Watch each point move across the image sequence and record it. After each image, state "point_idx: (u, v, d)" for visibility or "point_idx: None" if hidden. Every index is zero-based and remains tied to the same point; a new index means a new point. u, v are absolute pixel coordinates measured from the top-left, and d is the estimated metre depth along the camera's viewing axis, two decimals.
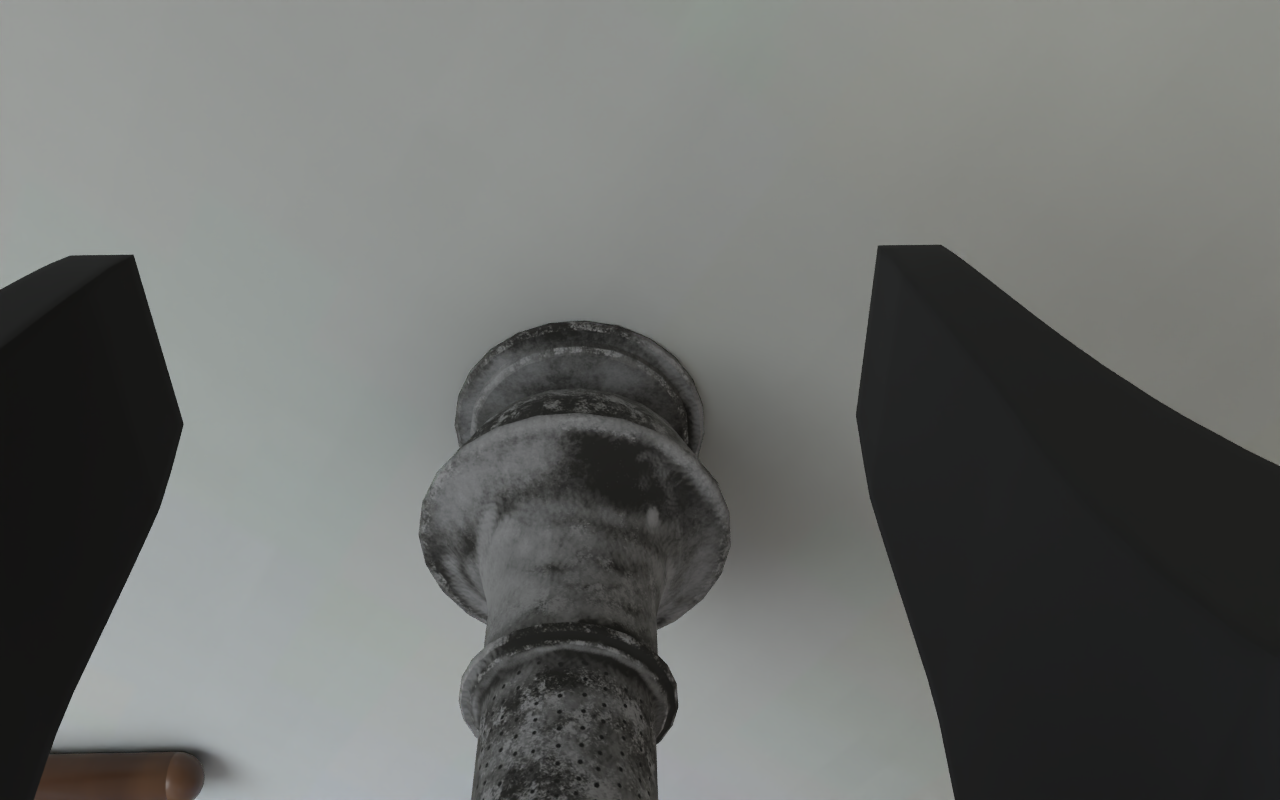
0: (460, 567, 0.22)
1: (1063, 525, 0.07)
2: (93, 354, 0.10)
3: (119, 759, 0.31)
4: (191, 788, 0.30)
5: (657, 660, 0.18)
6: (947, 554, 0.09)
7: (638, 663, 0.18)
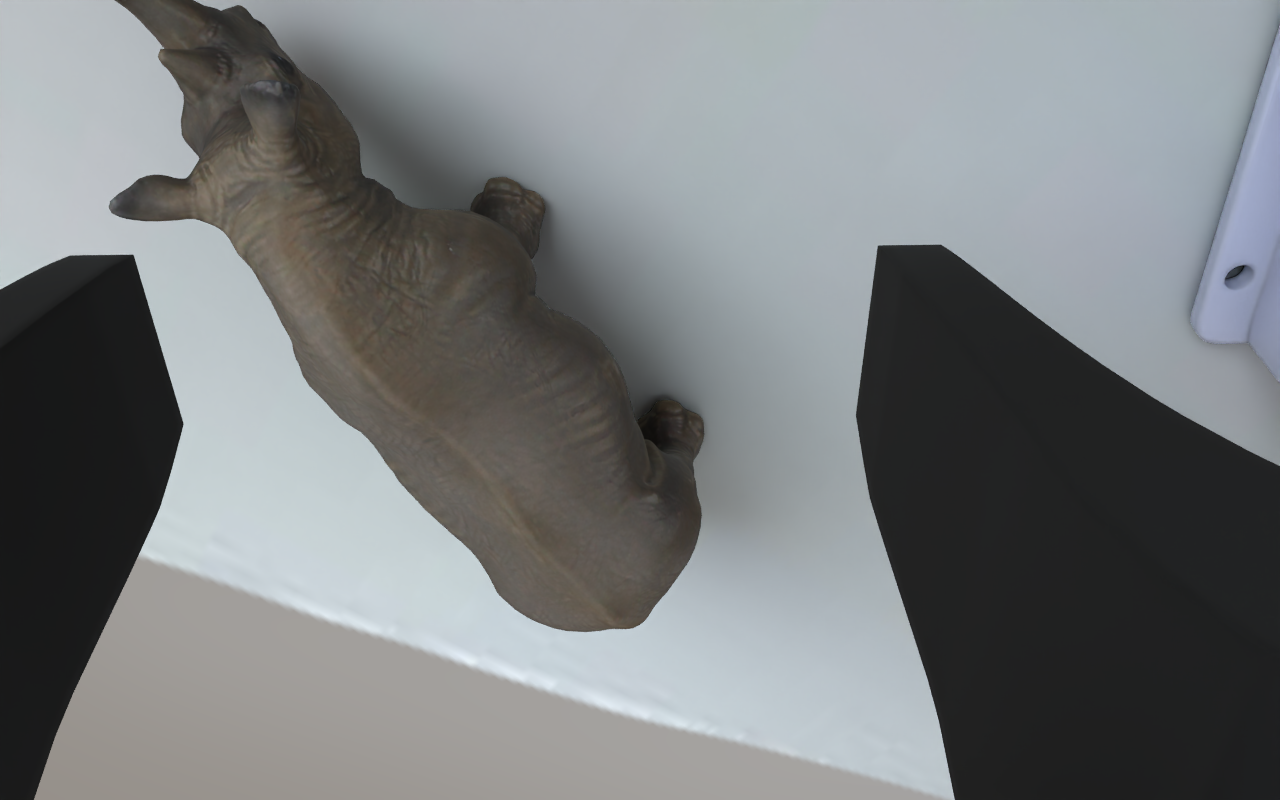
0: None
1: (1063, 525, 0.07)
2: (94, 355, 0.10)
3: None
4: None
5: None
6: (947, 554, 0.09)
7: None
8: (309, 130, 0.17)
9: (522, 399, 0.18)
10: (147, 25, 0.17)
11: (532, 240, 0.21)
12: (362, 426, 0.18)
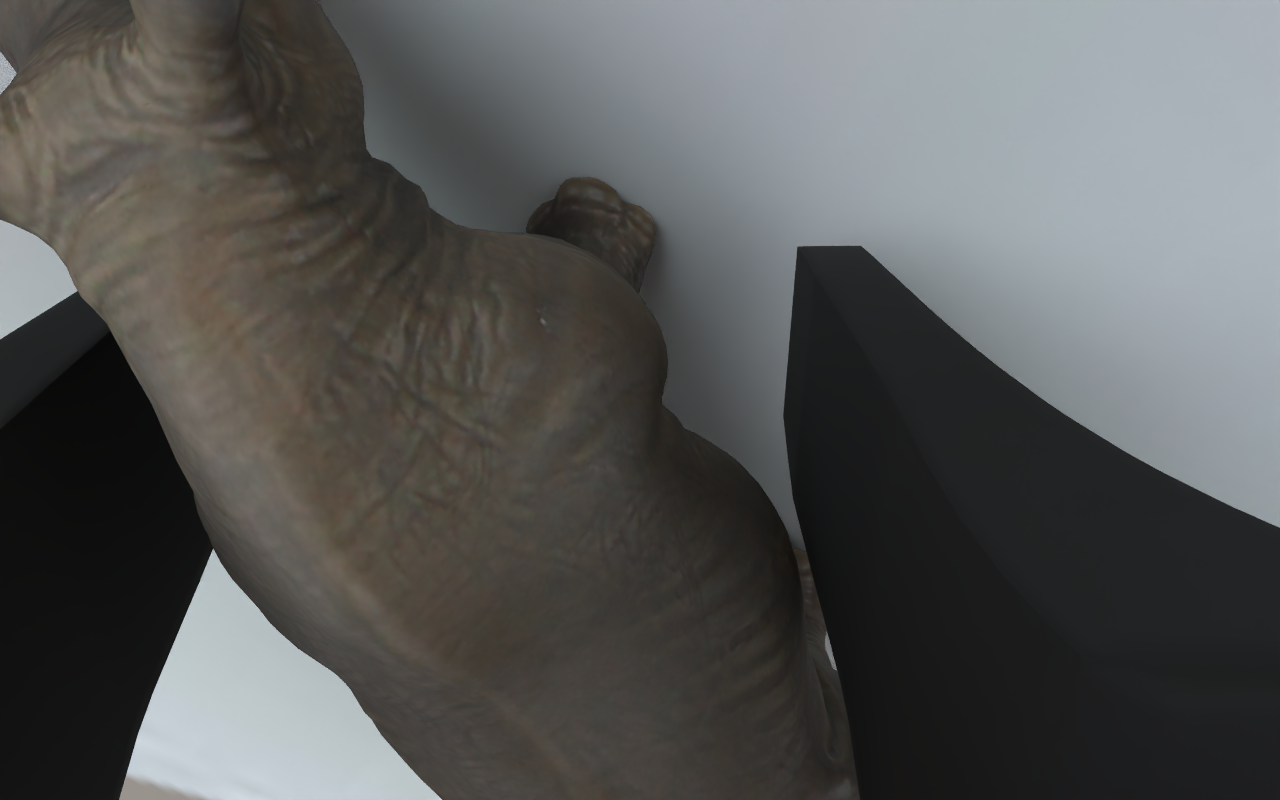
0: None
1: (935, 529, 0.07)
2: None
3: None
4: None
5: None
6: (852, 556, 0.09)
7: None
8: (267, 46, 0.08)
9: (653, 623, 0.09)
10: None
11: None
12: (325, 663, 0.09)
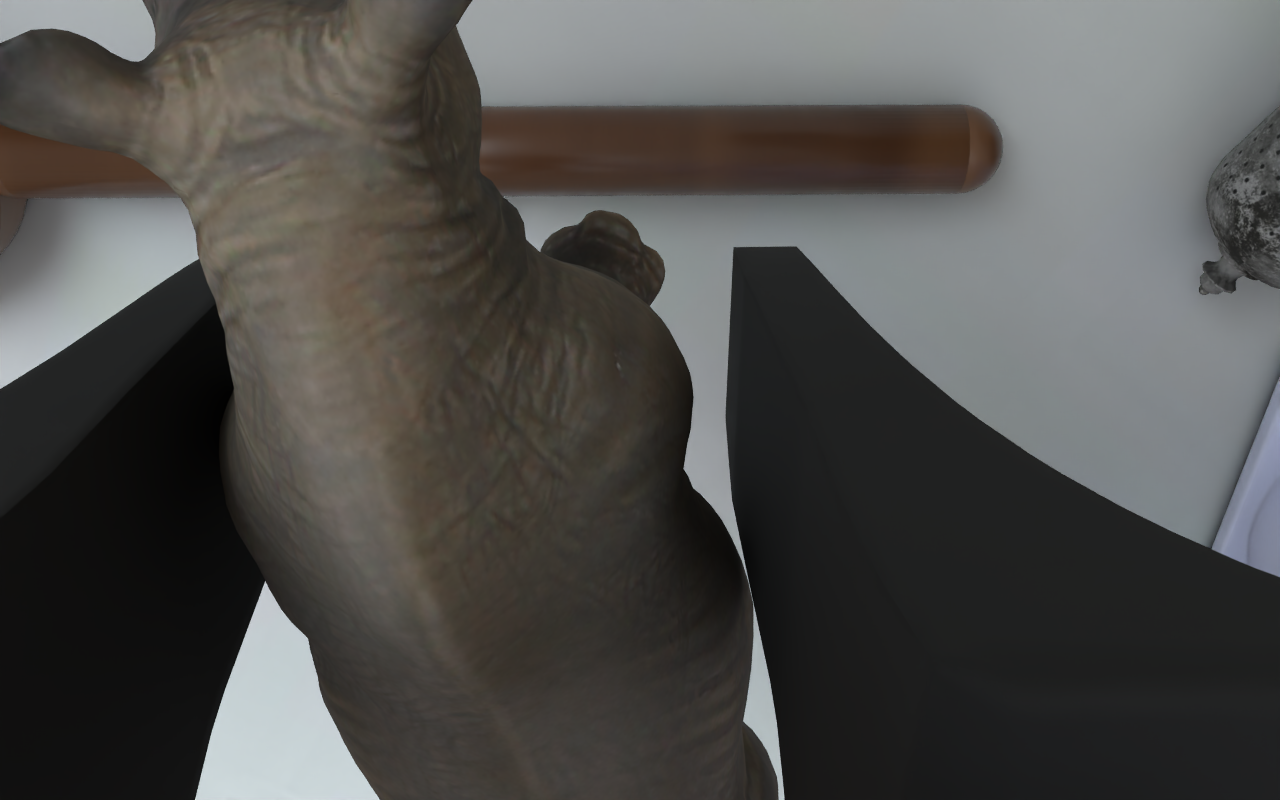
0: None
1: (833, 529, 0.07)
2: None
3: (876, 105, 0.19)
4: (997, 152, 0.18)
5: None
6: (777, 557, 0.09)
7: None
8: None
9: (645, 663, 0.09)
10: None
11: None
12: (332, 649, 0.09)
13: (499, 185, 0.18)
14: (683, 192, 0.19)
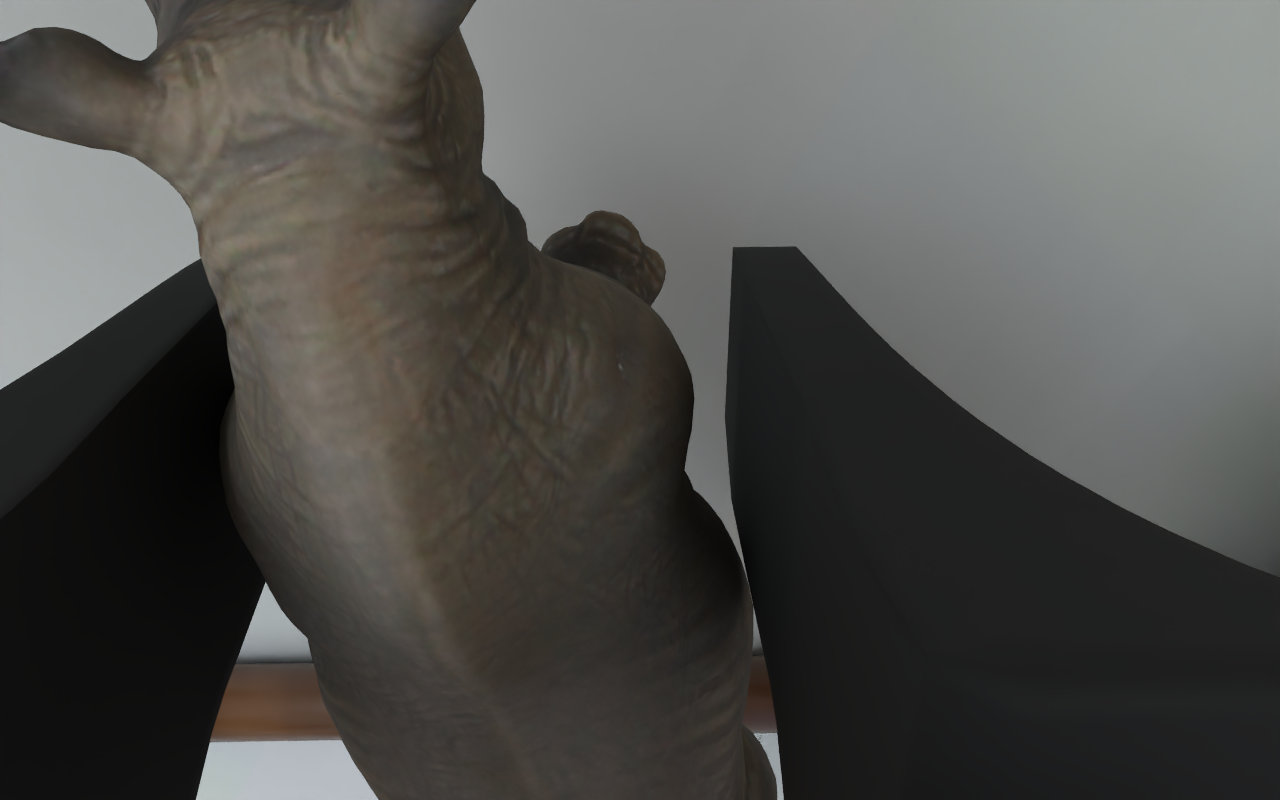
0: None
1: (833, 529, 0.07)
2: None
3: None
4: None
5: None
6: (776, 557, 0.09)
7: None
8: None
9: (646, 665, 0.09)
10: None
11: None
12: (332, 650, 0.09)
13: None
14: None
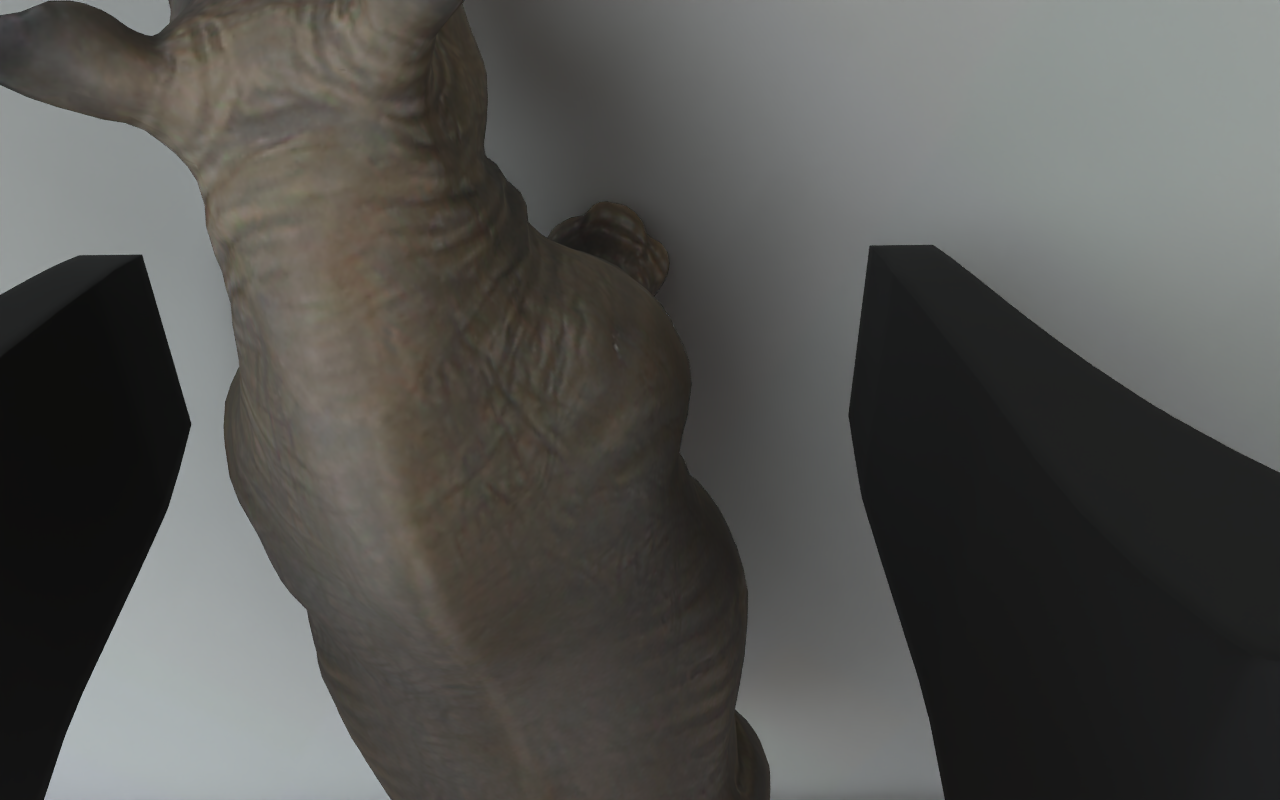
0: None
1: (1049, 527, 0.07)
2: (102, 354, 0.10)
3: None
4: None
5: None
6: (937, 555, 0.09)
7: None
8: None
9: (637, 642, 0.10)
10: None
11: None
12: (329, 620, 0.09)
13: None
14: None
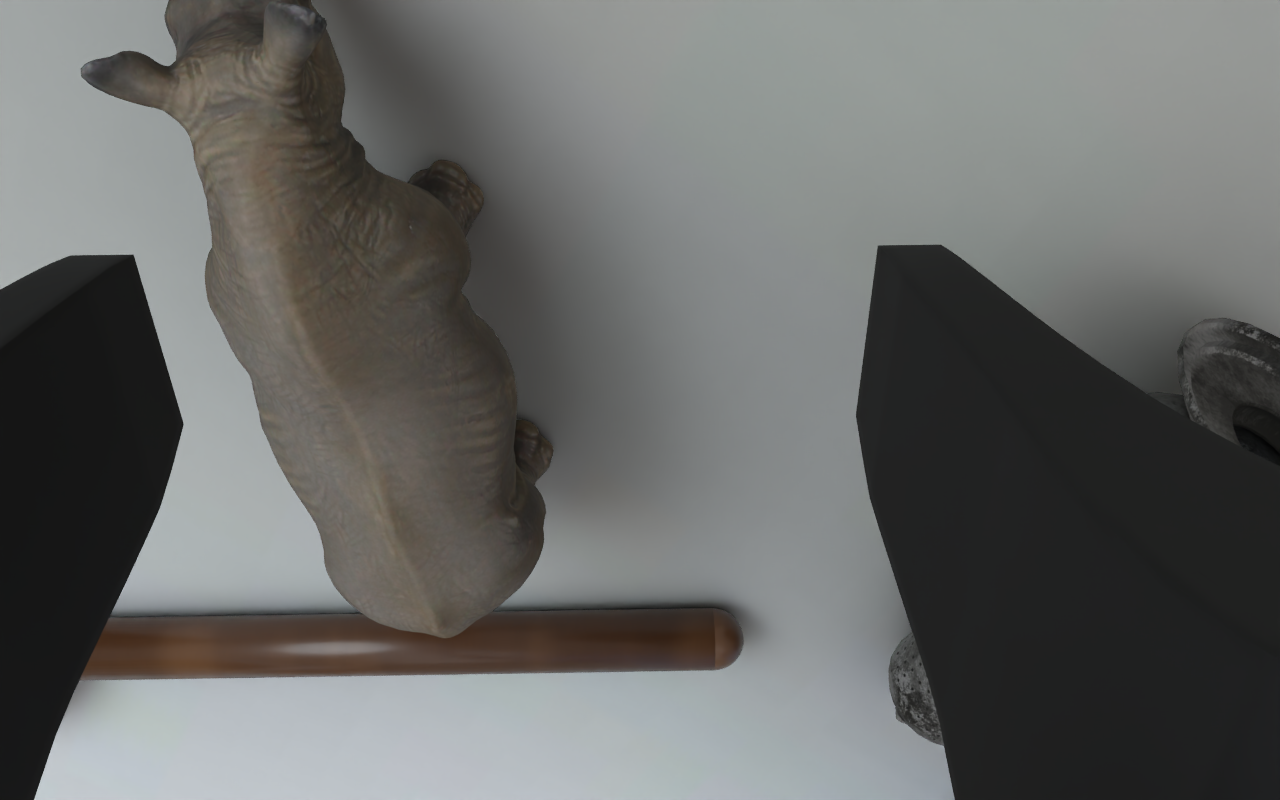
0: None
1: (1063, 527, 0.07)
2: (93, 354, 0.10)
3: (654, 614, 0.27)
4: (737, 647, 0.27)
5: None
6: (947, 554, 0.09)
7: None
8: (308, 64, 0.16)
9: (430, 393, 0.17)
10: None
11: None
12: (260, 371, 0.17)
13: (391, 673, 0.27)
14: None
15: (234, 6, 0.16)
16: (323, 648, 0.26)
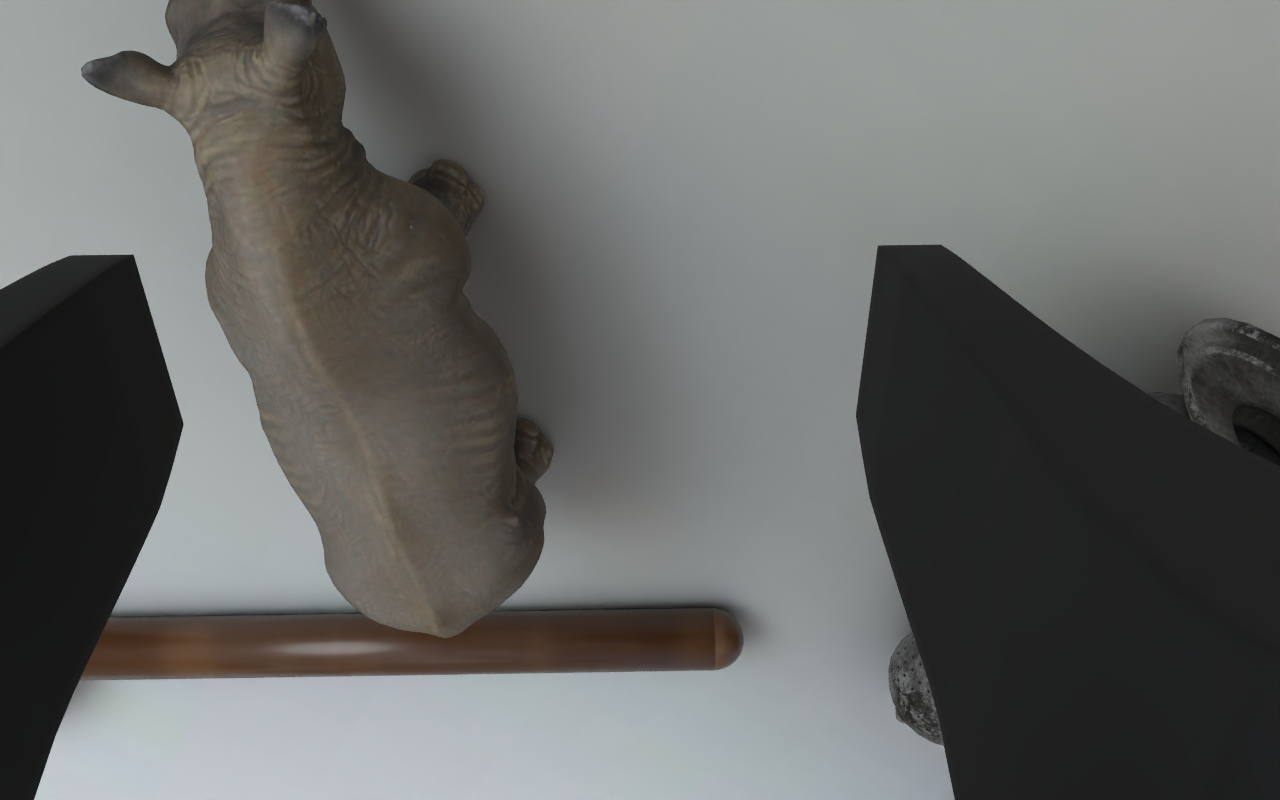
0: None
1: (1063, 527, 0.07)
2: (93, 354, 0.10)
3: (654, 614, 0.27)
4: (737, 647, 0.27)
5: None
6: (947, 554, 0.09)
7: None
8: (309, 63, 0.16)
9: (430, 393, 0.17)
10: None
11: None
12: (260, 371, 0.17)
13: (391, 673, 0.27)
14: None
15: (234, 6, 0.16)
16: (323, 648, 0.26)
